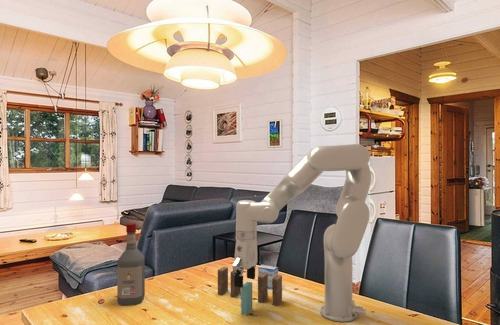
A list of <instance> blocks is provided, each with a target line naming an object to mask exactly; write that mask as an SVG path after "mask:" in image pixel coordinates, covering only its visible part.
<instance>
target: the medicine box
mask: <svg viewBox="0 0 500 325" xmlns="http://www.w3.org/2000/svg"><path fill="white" fill-rule="evenodd" d="M262 273H268V290H272V278H274V277H275V276H276V275H279V267H278V266H272V265H265V264H261V265H259V266H258V267H257V277H258V276H259V275H260V274H262Z"/></svg>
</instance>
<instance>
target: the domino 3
mask: <svg viewBox="0 0 500 325" xmlns="http://www.w3.org/2000/svg"><path fill="white" fill-rule="evenodd" d="M240 304H241V305H240V313H241V315H243V316H248V315H249V313H251V312H252V311H253V282H252V281H246V282H244V283H243V287H242V288H241V294H240Z"/></svg>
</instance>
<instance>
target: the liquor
mask: <svg viewBox="0 0 500 325" xmlns="http://www.w3.org/2000/svg"><path fill="white" fill-rule="evenodd" d="M125 225H126V226H125V227H126V228H125V230H126V247H125V250H124V251H123V252H122V254H121V255H120V256H119V258H118V260H117V262H116V263H117V264H116V267H117V272H116V273H117V282H116V284H117V285H116V288H117V290H116V292H117V304H118V305H120V306H122V307H123V306H137V305H139V304H141V303H143V301H144V297H145V295H146V294H145V293H146V288H145V287H146V284H145V282H146V281H145V280H146V279H145V277H146V275H145V274H146V270H145V269H146V268H145V266H146V265H145V264H146V263H145V262H146V260H145V259H146V258H145V255H144V254H143V252H142V251H140V249H139V248H138V247H137V244H136V243H137V242H136V241H137V240H136V232H137V223H135V222H130V223H126V224H125Z"/></svg>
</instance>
